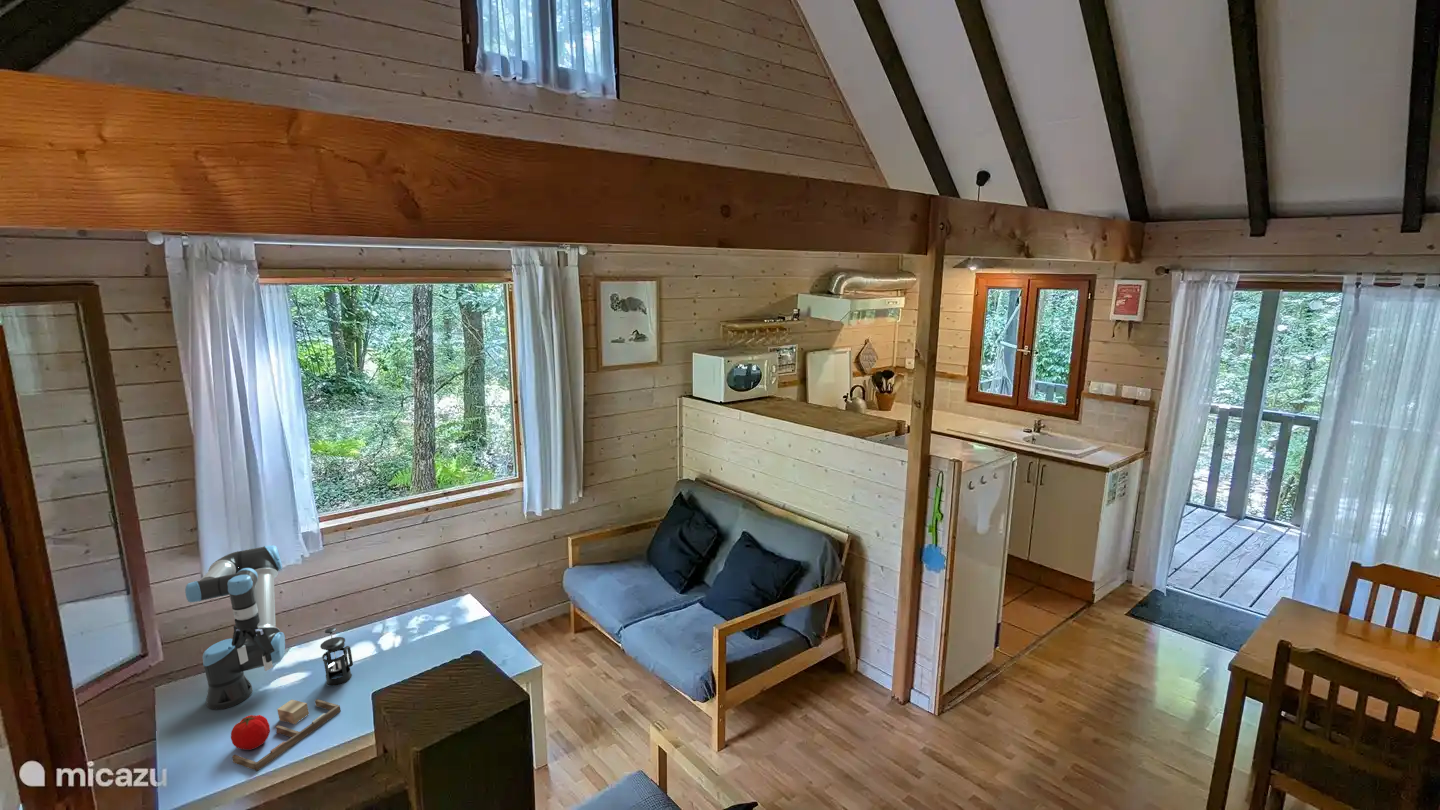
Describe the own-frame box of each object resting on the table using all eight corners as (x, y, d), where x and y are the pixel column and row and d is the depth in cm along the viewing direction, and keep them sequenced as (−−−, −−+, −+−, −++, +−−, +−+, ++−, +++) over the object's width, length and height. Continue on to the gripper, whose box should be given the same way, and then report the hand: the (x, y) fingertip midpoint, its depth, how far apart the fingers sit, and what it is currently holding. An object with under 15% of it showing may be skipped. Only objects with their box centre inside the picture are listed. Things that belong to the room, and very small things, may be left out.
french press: (334, 689, 277) (325, 638, 272) (319, 684, 281) (310, 633, 276) (360, 673, 287) (352, 623, 282) (345, 668, 291) (337, 619, 286)
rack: (233, 762, 237) (231, 754, 237) (318, 704, 267) (316, 697, 267) (257, 771, 233) (255, 763, 232) (340, 711, 263) (339, 704, 262)
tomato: (276, 743, 246) (271, 716, 244) (239, 761, 238) (233, 733, 235) (265, 729, 254) (260, 703, 252) (229, 746, 245) (223, 719, 243)
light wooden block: (279, 720, 259) (277, 709, 258) (293, 710, 265) (291, 699, 263) (295, 724, 256) (292, 713, 255) (309, 714, 262) (307, 703, 261)
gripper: (213, 615, 259) (224, 665, 263) (259, 626, 250) (270, 677, 255) (233, 605, 266) (243, 654, 270) (279, 615, 257) (288, 665, 262)
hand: (256, 665), depth 263 cm, fingers open, 13 cm apart
